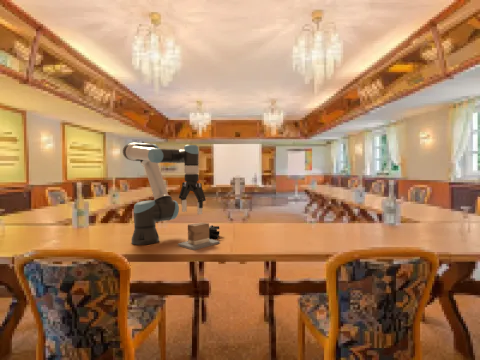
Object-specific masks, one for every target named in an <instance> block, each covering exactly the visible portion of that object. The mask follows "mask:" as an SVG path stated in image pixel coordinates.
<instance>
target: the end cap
mask: <svg viewBox="0 0 480 360" xmlns="http://www.w3.org/2000/svg"><path fill="white" fill-rule="evenodd" d="M219 238H220V226H218V225H217V226H215V225H213V224H212V225H209V239H212V240H218V239H219Z"/></svg>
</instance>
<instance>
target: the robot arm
mask: <svg viewBox="0 0 480 360" xmlns="http://www.w3.org/2000/svg"><path fill="white" fill-rule="evenodd" d="M199 154H200V153H199V146H198V145H196V144H186V145H184V148H183V149H176V148H175V149H173V148H160V147H159V146H158V145H157V144H155V143H149V142H148V143H143V142H129V143H128V144H125V146H124V147H123V148H122V155H123V157H124V158H125V159H126V160H129V161H133V162H140V165H141V166H142V167H144V170H145V172H146V175H147V176H146V177H147V179H148V182H149V186H150V189H151V192H152V196H153V200H151V199H149V200H143V201H142V200H141V201H138V202H136V203H135V204H134V206H133V223H134V224H133V225H134V226H133V227H134V230H133V233H132V236H131V244H132V245H137V246H142V245H143V246H144V245H151V244H152V245H153V244H156V243H158V242H159V241H160V236H159V233H158V231H157V228H156V223H159V222H165V221H167V222H168V221H172V220H175V219H176V218H177V217H178V215H179V210H180V207H179V206H180V205H179V202H178V201H176V200H174V199H173V198H172V196H171V195H169V193H168V190H167V187H166V184H165V181H164V177H163V176H162V173H161V172H162V171H161V169H160V165H159V163H160V164H183V165H184V168H183V170H184V172H183V173H184V182H182V183H181V189H180V192H179V196H178V199H180V200H181V213H185V212H187V211H188V208H187V207H188V205H187V204H188V203H187V201H188V200H187V197H188V196H189V193H190V192H193V193H194V195H195V197H196V199H197V202H196V203H197V204H196V206H197V207H196V208H197V210H196V211H197V215H203V207H204V204H203V203H204V202H205V201H206V200H207V198H206V196H205V192H204V190H203V187H202V182H201V183H200V182H199V178H200V176H199V171H200V170H199V163H200V162H199Z"/></svg>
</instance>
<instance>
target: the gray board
mask: <svg viewBox="0 0 480 360" xmlns="http://www.w3.org/2000/svg"><path fill="white" fill-rule="evenodd" d="M220 243H221V242H220V240H218V239H209V242H205V243H201V244H197V245H193V244H189V243H188V241H187V240H186V241H183V242H178V243H177V246H178V247H182V248H186V249H188V250H193V251H196V250H200V249H203V248H207V247H211V246H215V245H219V244H220Z"/></svg>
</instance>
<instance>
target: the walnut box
mask: <svg viewBox="0 0 480 360" xmlns="http://www.w3.org/2000/svg"><path fill="white" fill-rule="evenodd" d="M209 227H210V223H208V222H202V221H201V222H196V223H192V224H191V223H190V224H188V225H187V240H188V243H189V244H193V245H197V244H201V243H205V242H209Z"/></svg>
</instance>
